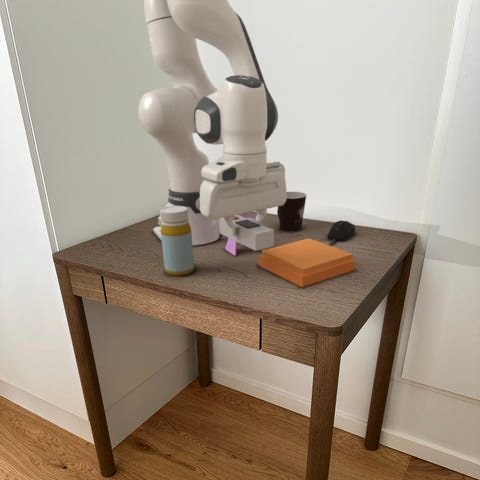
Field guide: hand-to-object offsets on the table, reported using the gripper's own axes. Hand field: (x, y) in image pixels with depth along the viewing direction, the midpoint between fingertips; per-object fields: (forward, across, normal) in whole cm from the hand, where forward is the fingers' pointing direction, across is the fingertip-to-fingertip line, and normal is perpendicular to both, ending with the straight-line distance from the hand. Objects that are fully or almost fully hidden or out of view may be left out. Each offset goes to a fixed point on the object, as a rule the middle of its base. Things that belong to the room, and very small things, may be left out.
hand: (245, 231), depth 100 cm
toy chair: (+12, -11, -16) cm, 23 cm away
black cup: (+12, -31, -23) cm, 40 cm away
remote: (+2, 0, 0) cm, 2 cm away
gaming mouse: (+11, -38, -8) cm, 40 cm away
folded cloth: (+11, -15, +4) cm, 19 cm away
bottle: (+12, +10, -13) cm, 20 cm away
